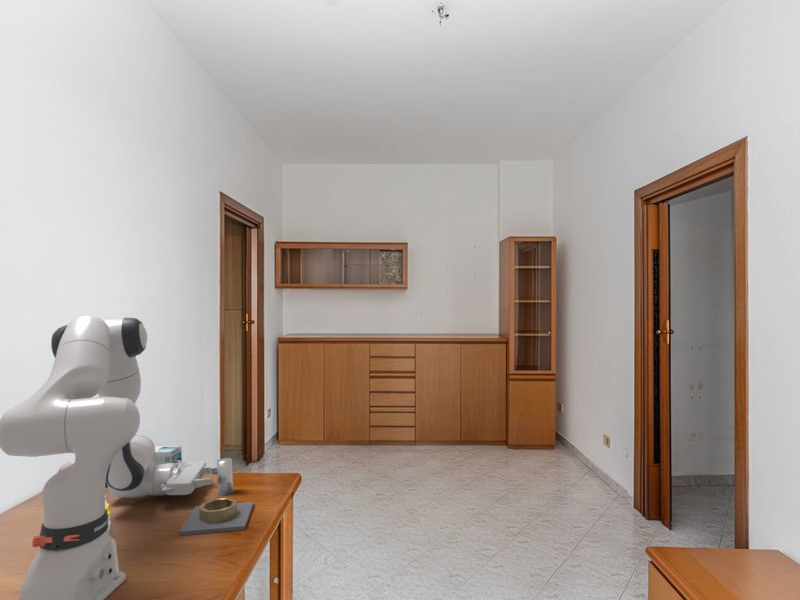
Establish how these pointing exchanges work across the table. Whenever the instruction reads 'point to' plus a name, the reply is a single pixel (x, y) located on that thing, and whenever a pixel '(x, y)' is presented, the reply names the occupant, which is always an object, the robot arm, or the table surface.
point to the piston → (224, 476)
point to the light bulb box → (167, 454)
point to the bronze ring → (218, 510)
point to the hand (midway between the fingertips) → (215, 475)
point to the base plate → (234, 524)
